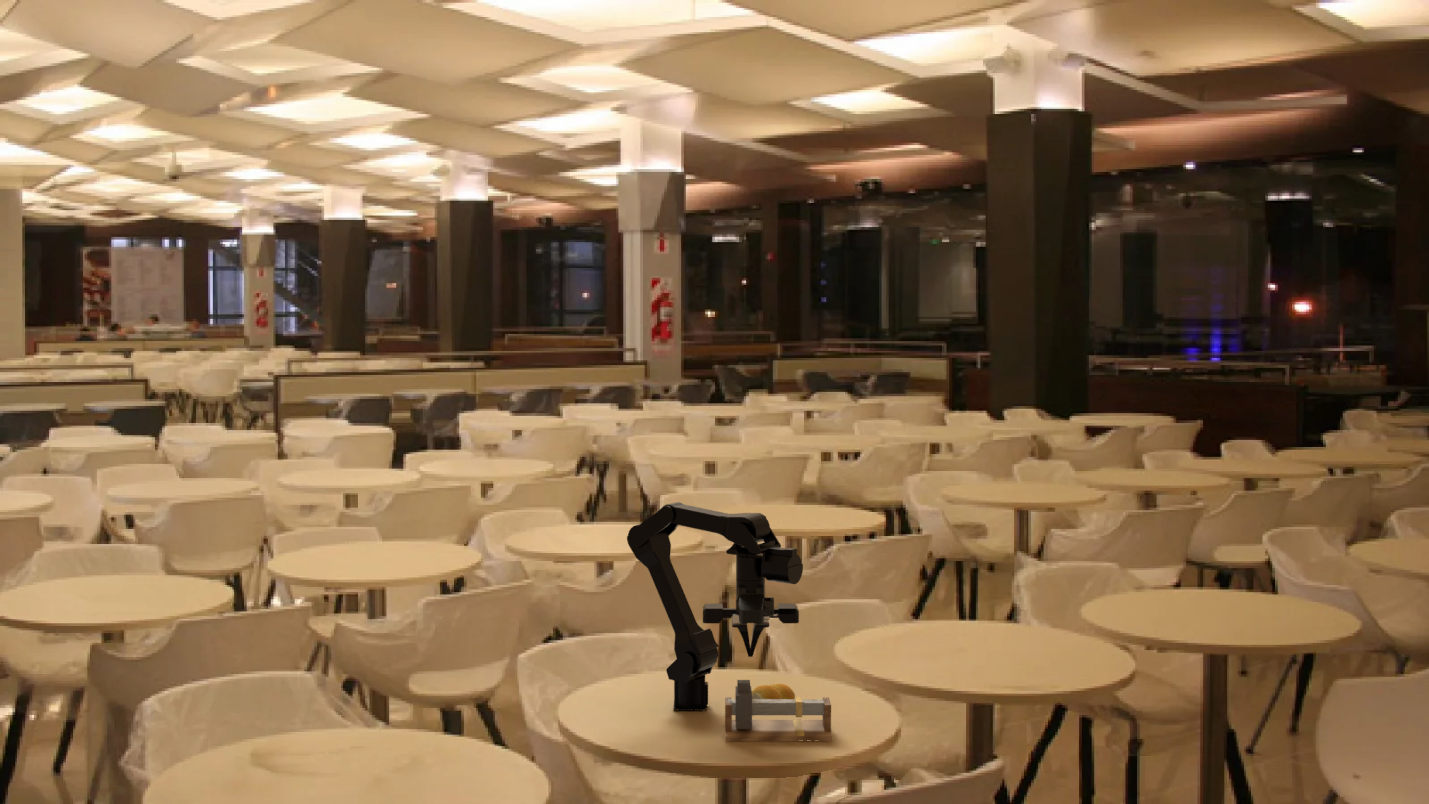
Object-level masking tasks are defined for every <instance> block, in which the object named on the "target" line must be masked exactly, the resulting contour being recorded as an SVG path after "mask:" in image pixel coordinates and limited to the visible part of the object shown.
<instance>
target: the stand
mask: <svg viewBox="0 0 1429 804" xmlns="http://www.w3.org/2000/svg"><path fill="white" fill-rule="evenodd" d="M728 699H732V697H731V696H730V697H729V696H728V697H727V696H726V697H724V731H725V732H724V736H725V739H724V740H725V742H800V741H799V740H803V741H802V742H808V741H807V740H811V741H810V742H816V741H815V740H819V741H818V742H833V735H832V704H831V699H830V697H828V696H827V697H825V696H824V697H822V699H823V700H824V701H825V702H824V715H822V719H801V718H797V719H796V718H793V719H752V729H736V720H735V719H733V718H732V717H733V715H732V703H729V702H728V701H729V700H728ZM826 701H827V703H826ZM791 740H792V741H791Z"/></svg>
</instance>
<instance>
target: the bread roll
mask: <svg viewBox="0 0 1429 804" xmlns="http://www.w3.org/2000/svg"><path fill="white" fill-rule="evenodd" d="M795 697H796V694H795V692H794V690H793V688H791V687H790V686H789V685H787V684H785V683H776V684H775V683H774V684H770V685H768V684H765V685H757V686H756V687H754V688H753V689H752V699H795Z"/></svg>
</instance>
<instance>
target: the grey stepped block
mask: <svg viewBox="0 0 1429 804" xmlns="http://www.w3.org/2000/svg"><path fill="white" fill-rule="evenodd" d="M736 680H737V681H736V682H737V683H736V685H735V695H734V697H735V699H736V715H734V716H735V717H734V718H735V719H734V720H736V729H752V720H753V715H752V691H753V689H752V686H751V680H750V679H736Z"/></svg>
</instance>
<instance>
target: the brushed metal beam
mask: <svg viewBox="0 0 1429 804" xmlns="http://www.w3.org/2000/svg"><path fill="white" fill-rule="evenodd" d="M728 700H729V701H728V702H729V703H732V716H735V715H736V699H734V698H733V699H732V698H731V699H728ZM824 702H825V701H824V700H823V698H821V699H818V698H813V699H812V698H811V699H810V698H808V699H807V698H805V699H803V698H802V697H799V696H798V697H797V696H795V699H752V716H795V718H803V716H823V715H824ZM826 703H827V701H826Z"/></svg>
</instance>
